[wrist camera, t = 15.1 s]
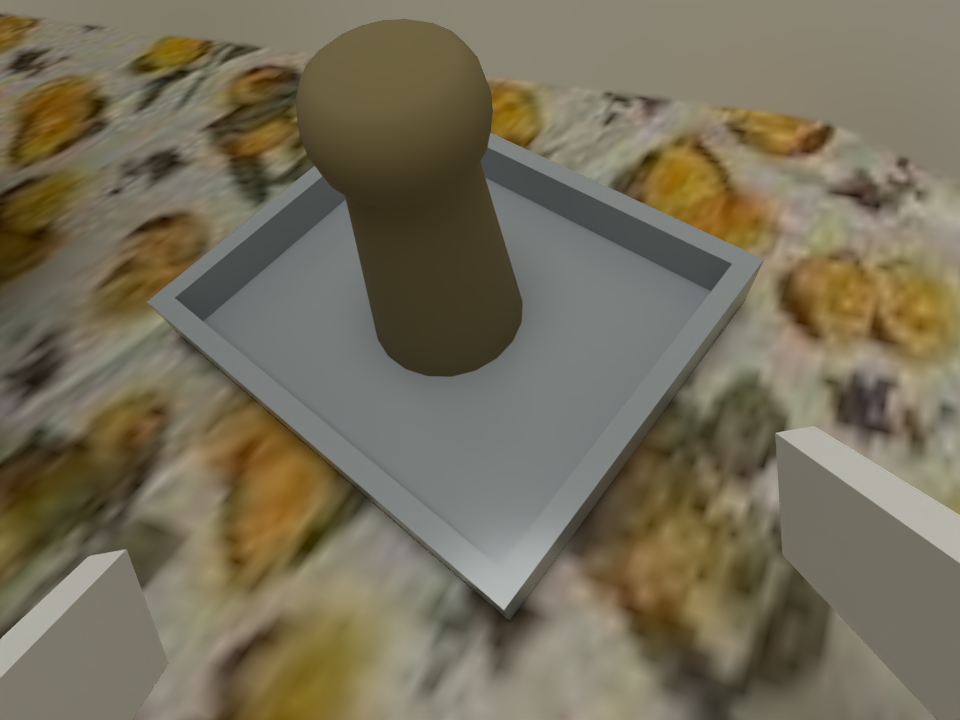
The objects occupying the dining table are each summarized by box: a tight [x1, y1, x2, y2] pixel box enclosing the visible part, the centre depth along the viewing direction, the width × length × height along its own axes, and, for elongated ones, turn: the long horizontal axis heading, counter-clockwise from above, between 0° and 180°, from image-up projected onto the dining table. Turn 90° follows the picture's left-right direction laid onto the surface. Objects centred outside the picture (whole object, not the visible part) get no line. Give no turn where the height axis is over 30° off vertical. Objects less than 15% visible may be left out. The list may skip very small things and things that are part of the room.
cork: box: [296, 19, 523, 377], centre depth 19 cm, size 6×6×11 cm
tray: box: [147, 133, 764, 622], centre depth 23 cm, size 18×15×2 cm
